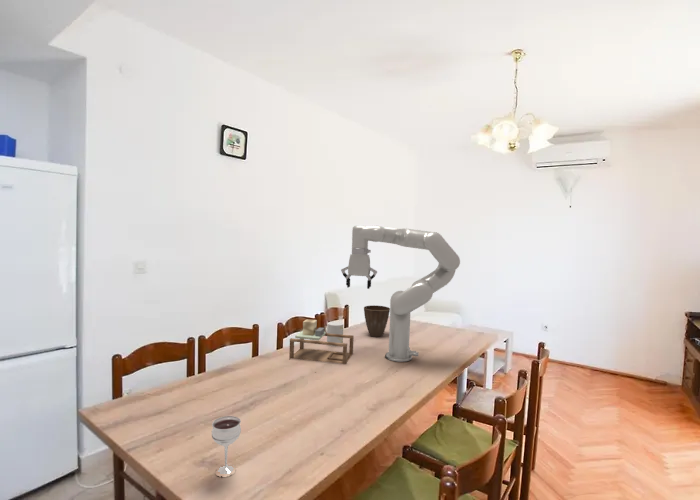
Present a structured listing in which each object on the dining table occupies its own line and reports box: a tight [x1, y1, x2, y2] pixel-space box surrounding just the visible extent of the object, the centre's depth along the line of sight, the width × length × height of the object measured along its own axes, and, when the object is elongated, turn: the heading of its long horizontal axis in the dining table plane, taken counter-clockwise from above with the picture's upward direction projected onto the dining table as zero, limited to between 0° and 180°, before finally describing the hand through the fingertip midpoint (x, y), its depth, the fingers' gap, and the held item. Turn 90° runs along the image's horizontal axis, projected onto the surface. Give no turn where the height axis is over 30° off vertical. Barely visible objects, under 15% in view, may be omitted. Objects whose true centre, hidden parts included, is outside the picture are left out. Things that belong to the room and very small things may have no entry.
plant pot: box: [363, 304, 390, 338], centre depth 216 cm, size 15×15×16 cm
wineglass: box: [211, 415, 242, 474], centre depth 91 cm, size 7×7×12 cm
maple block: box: [302, 318, 318, 336], centre depth 175 cm, size 5×5×6 cm
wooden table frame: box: [288, 330, 355, 365], centre depth 174 cm, size 26×15×10 cm, turn 78°
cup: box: [326, 321, 344, 347], centre depth 193 cm, size 8×8×12 cm
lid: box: [294, 327, 327, 341], centre depth 175 cm, size 11×11×4 cm
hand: (358, 287), depth 180 cm, fingers open, 9 cm apart
